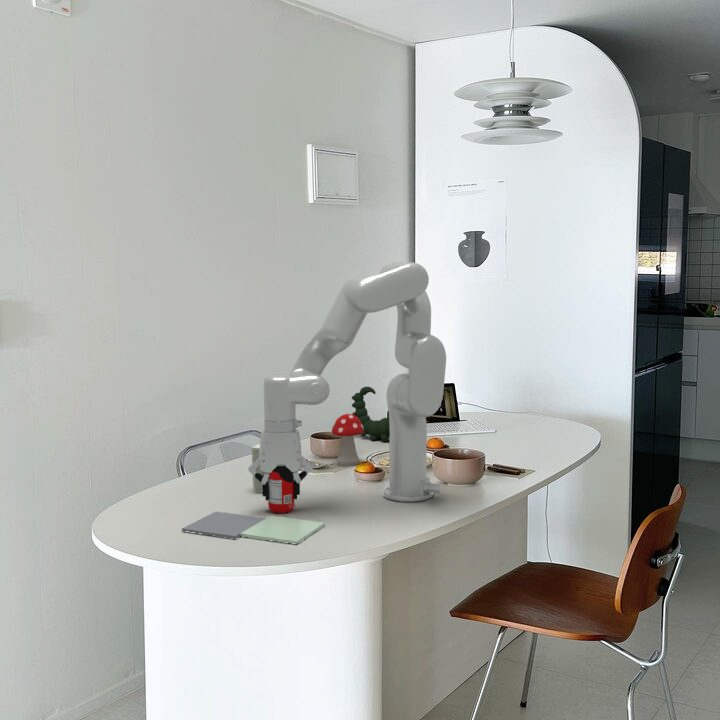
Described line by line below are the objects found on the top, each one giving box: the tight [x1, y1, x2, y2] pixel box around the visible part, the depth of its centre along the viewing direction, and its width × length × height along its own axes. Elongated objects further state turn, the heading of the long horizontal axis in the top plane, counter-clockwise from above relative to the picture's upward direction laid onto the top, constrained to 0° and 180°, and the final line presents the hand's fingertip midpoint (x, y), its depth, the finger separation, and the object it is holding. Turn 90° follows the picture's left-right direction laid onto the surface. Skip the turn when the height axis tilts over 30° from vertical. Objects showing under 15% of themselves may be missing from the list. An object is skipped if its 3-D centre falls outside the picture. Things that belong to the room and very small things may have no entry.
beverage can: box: [267, 465, 295, 514], centre depth 212 cm, size 6×6×12 cm
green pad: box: [240, 515, 326, 544], centre depth 197 cm, size 14×14×1 cm
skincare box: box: [251, 443, 268, 494], centre depth 230 cm, size 6×4×12 cm
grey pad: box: [181, 511, 267, 540], centre depth 201 cm, size 14×14×1 cm
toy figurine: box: [351, 386, 390, 442], centre depth 289 cm, size 9×19×25 cm
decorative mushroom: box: [331, 413, 364, 467], centre depth 258 cm, size 10×9×15 cm
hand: (281, 497), depth 213 cm, fingers closed on beverage can, 6 cm apart
